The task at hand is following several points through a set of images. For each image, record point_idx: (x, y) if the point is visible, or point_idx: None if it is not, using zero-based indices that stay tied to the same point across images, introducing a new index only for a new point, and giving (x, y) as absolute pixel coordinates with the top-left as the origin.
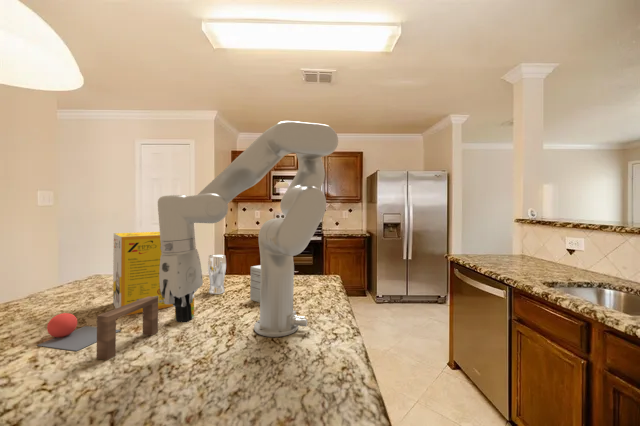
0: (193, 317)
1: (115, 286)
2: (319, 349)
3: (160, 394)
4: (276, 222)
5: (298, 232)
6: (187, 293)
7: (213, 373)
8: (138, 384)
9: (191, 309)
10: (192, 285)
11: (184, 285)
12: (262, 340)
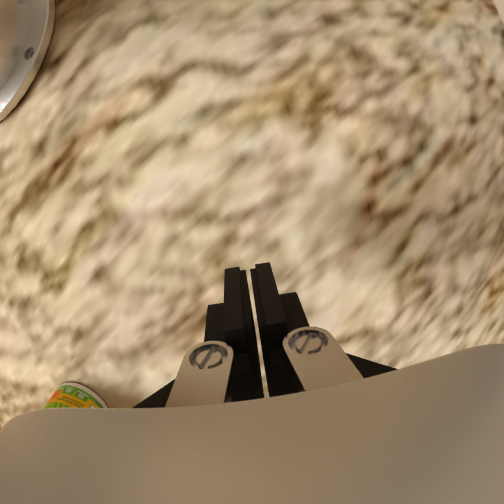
0: (63, 383)
1: None
2: None
3: (480, 110)
4: None
5: None
6: (381, 374)
7: (358, 18)
8: (468, 203)
9: (59, 405)
10: (253, 480)
11: (498, 467)
12: (81, 13)
